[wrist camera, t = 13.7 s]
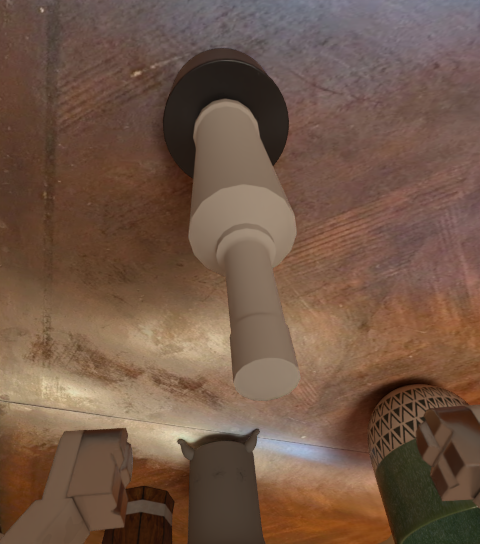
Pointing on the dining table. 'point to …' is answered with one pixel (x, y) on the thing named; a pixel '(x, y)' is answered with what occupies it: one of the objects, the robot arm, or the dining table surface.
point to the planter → (415, 471)
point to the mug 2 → (223, 493)
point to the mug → (144, 518)
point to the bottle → (244, 244)
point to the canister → (215, 86)
